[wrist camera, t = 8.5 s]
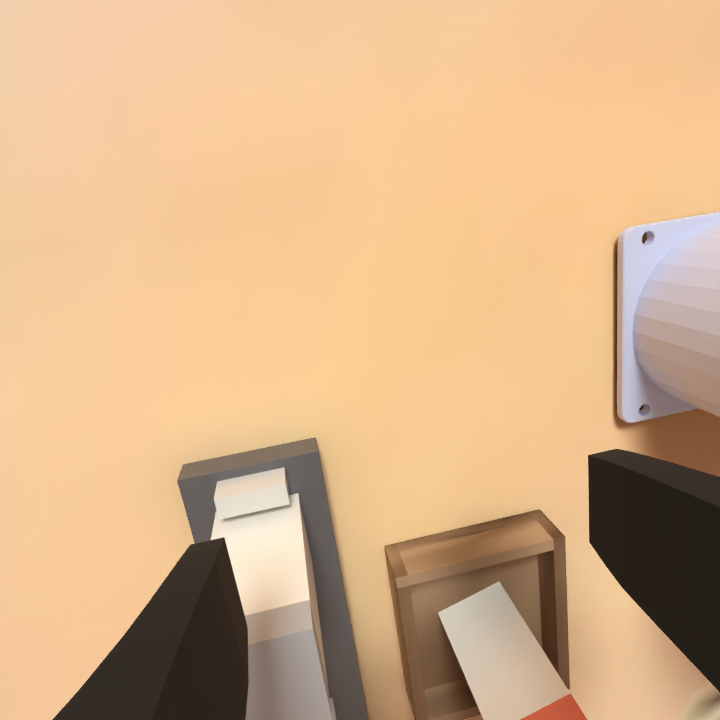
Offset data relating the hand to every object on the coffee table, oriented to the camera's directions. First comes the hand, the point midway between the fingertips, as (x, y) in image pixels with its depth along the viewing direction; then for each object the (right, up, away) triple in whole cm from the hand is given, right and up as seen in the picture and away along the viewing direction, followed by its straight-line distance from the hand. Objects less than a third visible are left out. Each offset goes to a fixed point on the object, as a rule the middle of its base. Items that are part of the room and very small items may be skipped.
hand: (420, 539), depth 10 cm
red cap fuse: (+4, -8, +13) cm, 16 cm away
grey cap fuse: (-5, -3, +9) cm, 11 cm away
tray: (+4, -8, +13) cm, 16 cm away
